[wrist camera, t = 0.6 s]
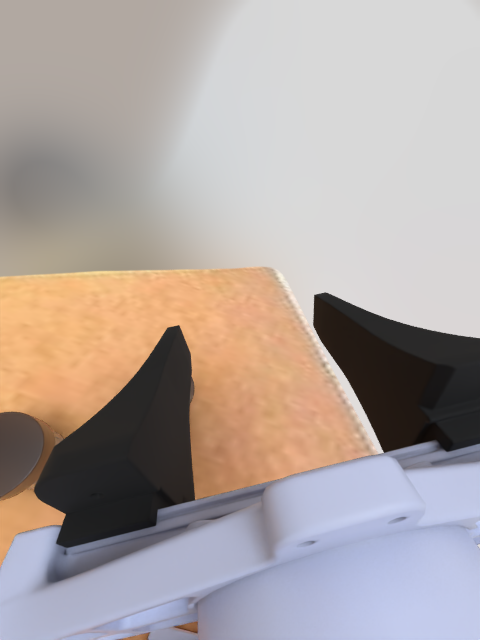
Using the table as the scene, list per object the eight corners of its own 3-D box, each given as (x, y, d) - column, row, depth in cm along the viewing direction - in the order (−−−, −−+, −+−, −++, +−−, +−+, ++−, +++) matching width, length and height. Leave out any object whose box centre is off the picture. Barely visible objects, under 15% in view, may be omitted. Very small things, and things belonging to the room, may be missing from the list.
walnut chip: (19, 512, 16) (0, 518, 14) (-63, 488, 15) (-95, 491, 13) (71, 430, 19) (62, 426, 17) (4, 408, 18) (-14, 400, 16)
